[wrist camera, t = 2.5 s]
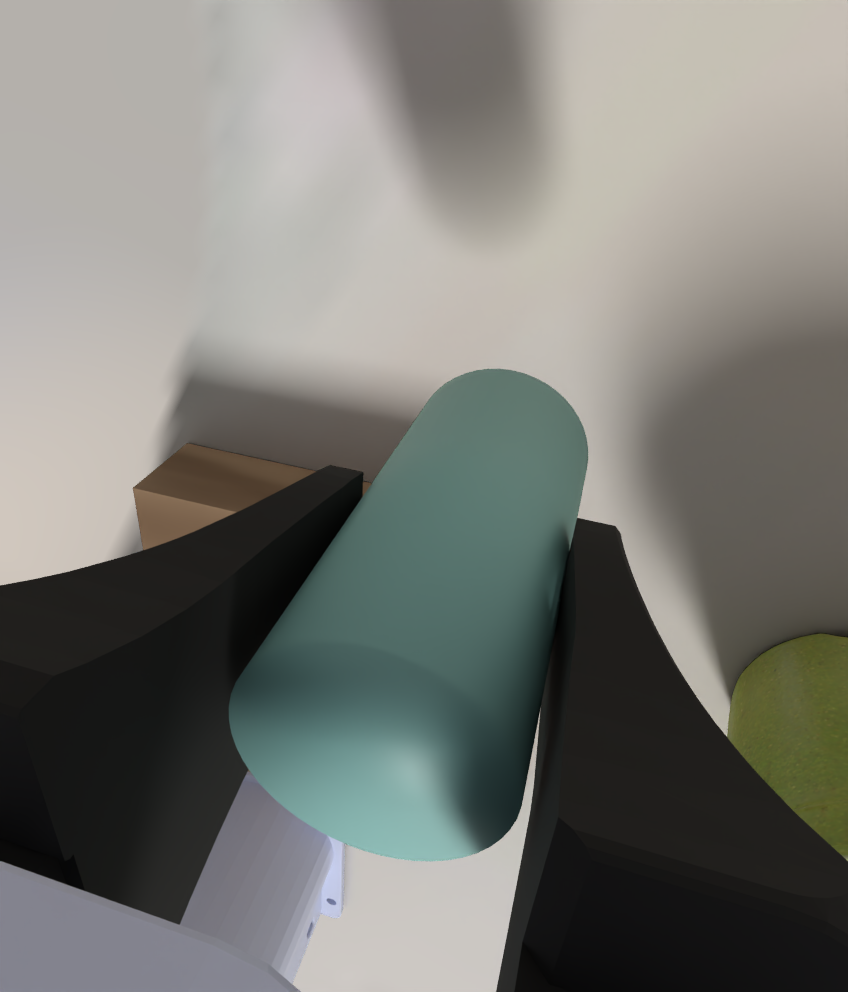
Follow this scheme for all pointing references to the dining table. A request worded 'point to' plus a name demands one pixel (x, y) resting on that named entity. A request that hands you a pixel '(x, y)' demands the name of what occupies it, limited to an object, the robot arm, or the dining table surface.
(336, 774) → the peg
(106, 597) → the robot arm
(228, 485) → the socket block
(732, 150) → the dining table surface
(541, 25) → the dining table surface
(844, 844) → the plant pot
